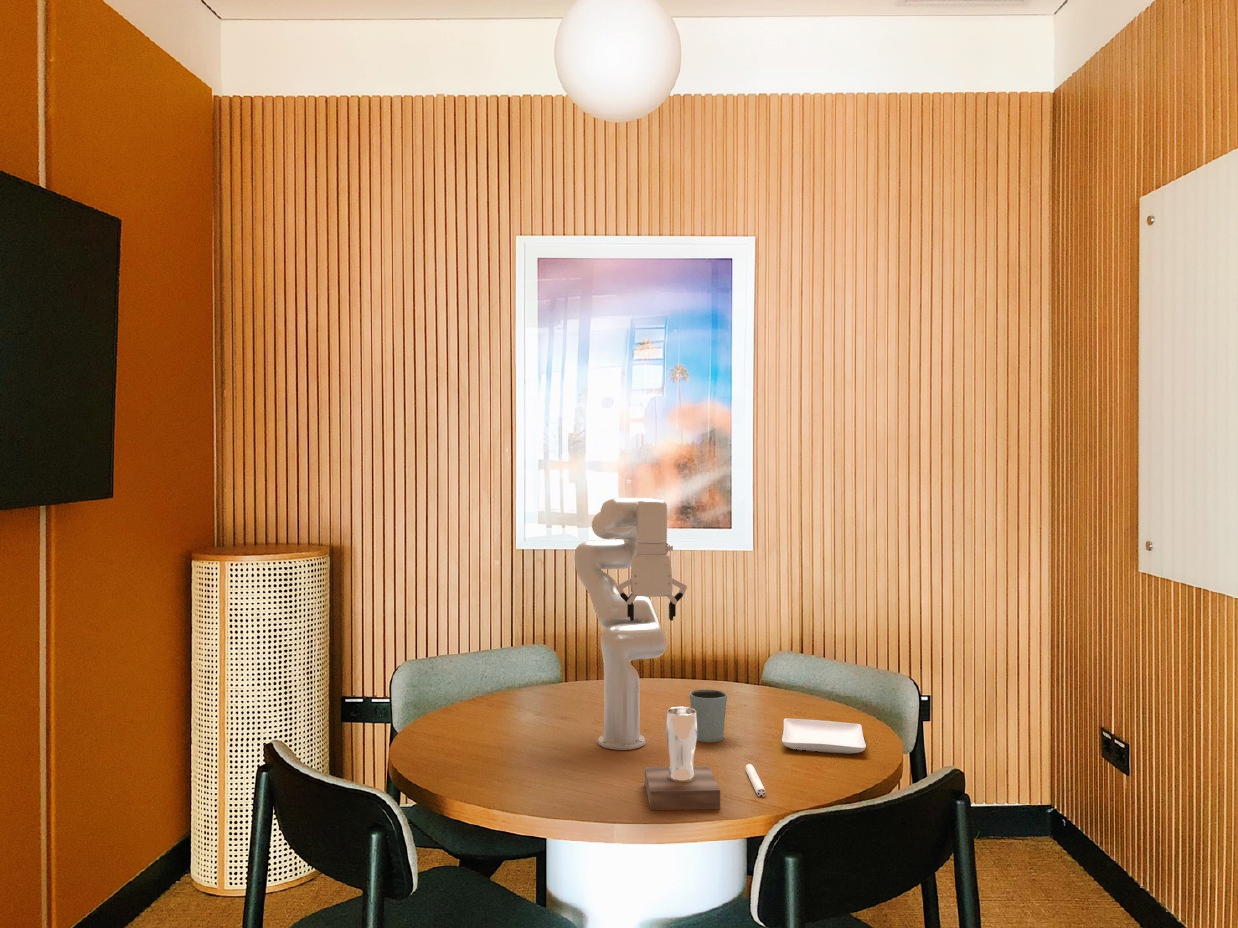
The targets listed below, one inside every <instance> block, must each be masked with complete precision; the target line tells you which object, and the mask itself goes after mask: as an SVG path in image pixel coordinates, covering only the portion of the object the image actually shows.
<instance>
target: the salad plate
mask: <svg viewBox="0 0 1238 928" xmlns="http://www.w3.org/2000/svg"><path fill="white" fill-rule="evenodd" d="M864 738H865V737H864V733H863V727H862V724H860V723H854V722H853V723H851V722H841V721H831V720H817V719H805V718H804V719H803V718H800V719H799V718H784V719H783V732H782V736H781V743H782V744H783V745H784V746H785V747H786V748H788V749H792V750H796V749H797V750H796V751H802V750H806V751H805V752H815V751H818V752H817V753H819V752H820V753H830V754H831V753H833V754H846V755H847V754H848V755H849V754H859V753H862V752H864V751H865V750H866V748H867V744H866V742H865V739H864Z"/></svg>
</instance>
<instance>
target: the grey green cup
mask: <svg viewBox="0 0 1238 928" xmlns="http://www.w3.org/2000/svg"><path fill="white" fill-rule="evenodd" d="M689 700H690V701H689V702H690V708H692V709H695V710H696V717H697V740H696V742H700V743H717V742H721V741H723V740H724V736H725V732H724V731H725V721H726V720H725V719H726V712H727V711H726V710H727V707H726V706H727V701H728V694H727V693H726V692H724V691H721V690H717V689H696V690H695V689H694V690H692V691H690V692H689Z"/></svg>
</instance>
